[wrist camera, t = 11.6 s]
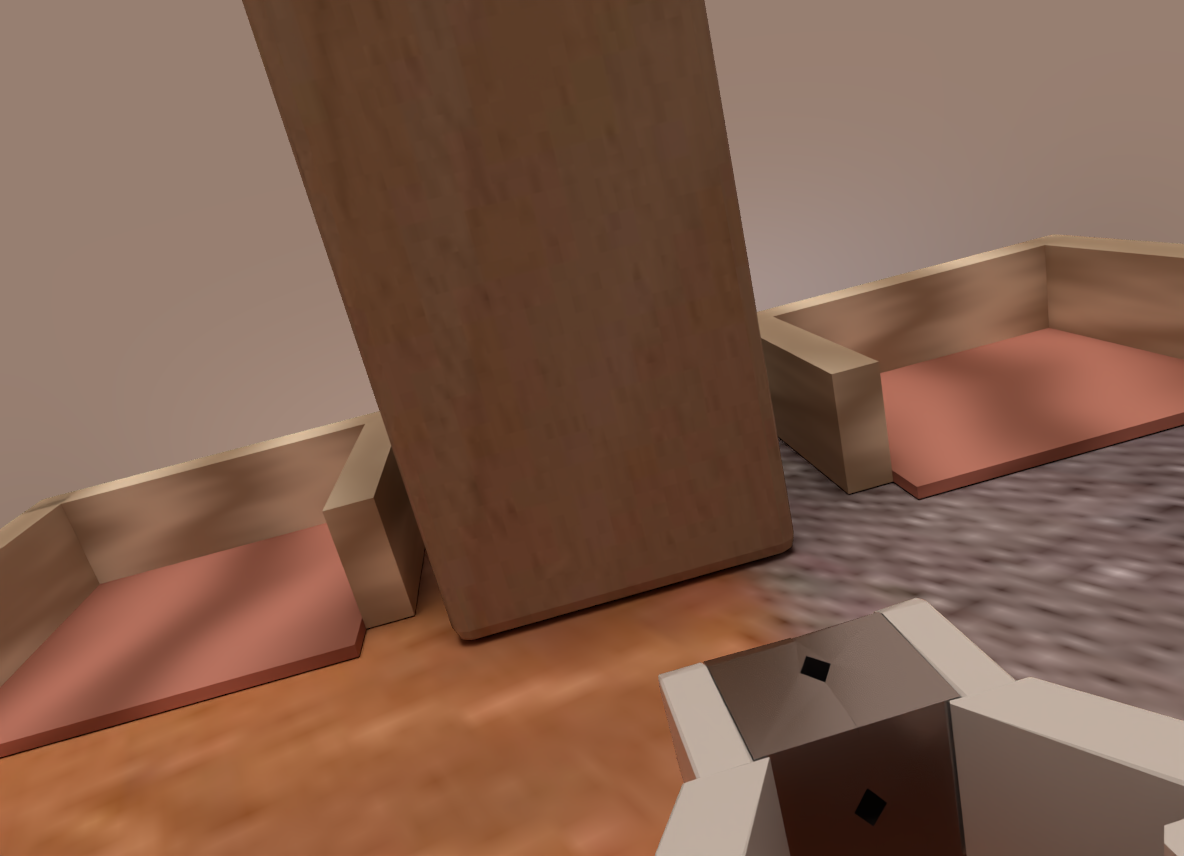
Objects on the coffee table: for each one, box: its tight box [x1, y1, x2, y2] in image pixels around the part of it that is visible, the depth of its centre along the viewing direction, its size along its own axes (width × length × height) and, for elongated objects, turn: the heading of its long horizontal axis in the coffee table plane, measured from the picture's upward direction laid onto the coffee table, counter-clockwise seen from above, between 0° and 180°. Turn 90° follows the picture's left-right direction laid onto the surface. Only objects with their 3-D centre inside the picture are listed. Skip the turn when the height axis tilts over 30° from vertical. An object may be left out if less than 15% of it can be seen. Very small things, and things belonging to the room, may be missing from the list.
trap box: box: [0, 234, 1184, 757], centre depth 23 cm, size 44×23×4 cm, turn 98°
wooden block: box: [242, 0, 793, 640], centre depth 23 cm, size 10×10×20 cm
